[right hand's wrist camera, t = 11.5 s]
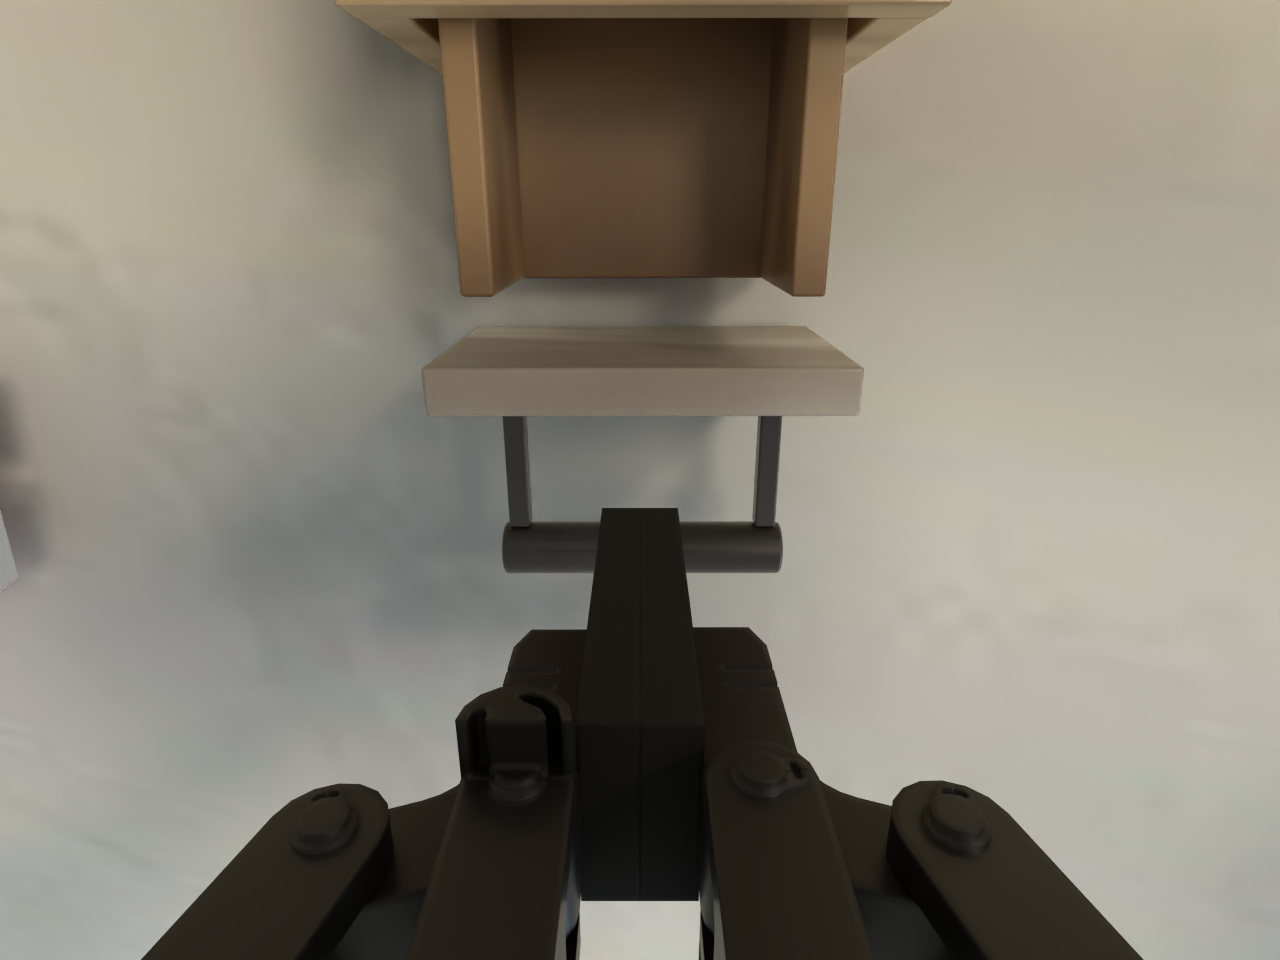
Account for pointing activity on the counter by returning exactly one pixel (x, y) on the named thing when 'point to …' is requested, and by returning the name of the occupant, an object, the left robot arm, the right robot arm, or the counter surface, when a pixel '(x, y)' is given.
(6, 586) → the toy
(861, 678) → the counter surface
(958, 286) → the counter surface
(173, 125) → the counter surface
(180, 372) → the counter surface
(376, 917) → the right robot arm
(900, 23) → the cabinet
